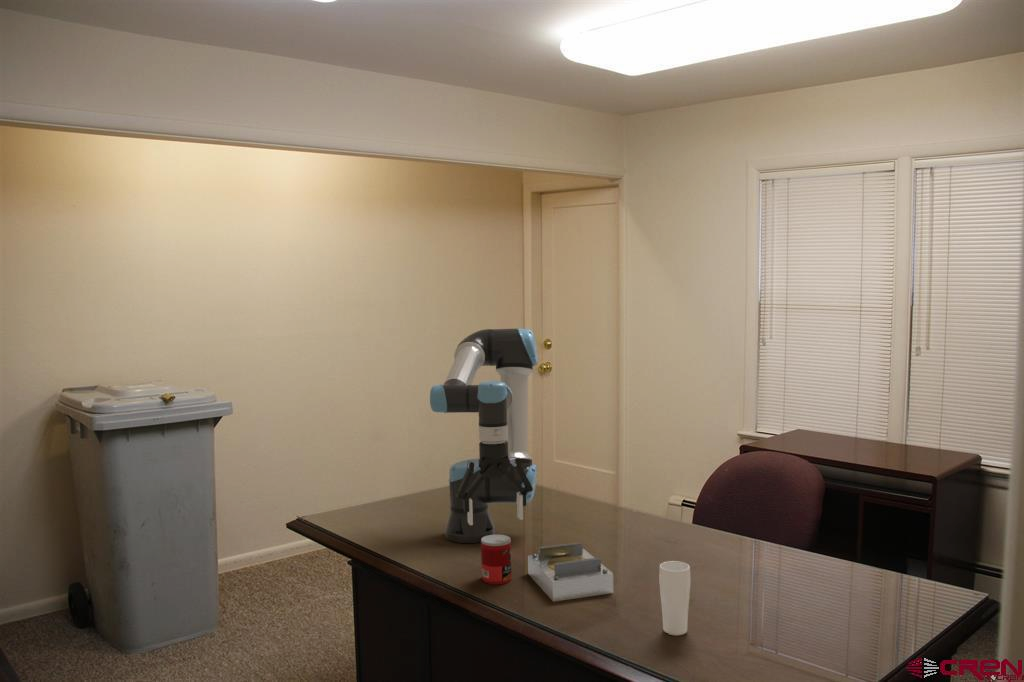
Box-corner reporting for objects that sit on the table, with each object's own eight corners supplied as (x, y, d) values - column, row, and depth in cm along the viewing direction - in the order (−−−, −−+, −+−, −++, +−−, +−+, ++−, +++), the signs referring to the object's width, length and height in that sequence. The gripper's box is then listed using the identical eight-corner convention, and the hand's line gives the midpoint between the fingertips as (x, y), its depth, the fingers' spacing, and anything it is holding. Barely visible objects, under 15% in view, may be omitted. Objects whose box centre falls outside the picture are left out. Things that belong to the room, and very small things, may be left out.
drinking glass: (656, 625, 187) (655, 561, 186) (685, 624, 188) (685, 559, 187) (664, 638, 181) (663, 572, 179) (694, 637, 181) (694, 570, 180)
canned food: (508, 585, 214) (507, 544, 213) (478, 584, 215) (477, 542, 214) (514, 575, 221) (513, 534, 220) (485, 573, 223) (484, 533, 222)
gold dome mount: (528, 573, 222) (527, 544, 221) (583, 566, 226) (583, 537, 226) (553, 601, 203) (552, 569, 202) (613, 592, 207) (612, 561, 206)
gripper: (449, 447, 208) (452, 530, 210) (543, 439, 215) (545, 519, 217) (443, 442, 215) (445, 522, 217) (534, 434, 222) (536, 512, 224)
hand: (495, 521), depth 217 cm, fingers open, 13 cm apart
